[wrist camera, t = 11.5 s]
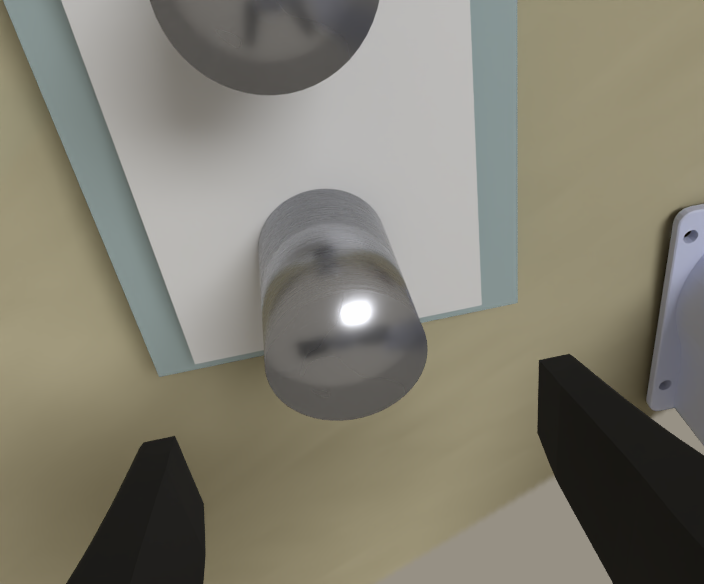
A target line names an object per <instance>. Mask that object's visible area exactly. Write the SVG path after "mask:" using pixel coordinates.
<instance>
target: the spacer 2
mask: <svg viewBox="0 0 704 584" xmlns="http://www.w3.org/2000/svg"><path fill="white" fill-rule="evenodd" d="M258 258H259V275H260V292H261V309H262V326H263V343H264V360H265V372H266V376H267V380H268V382H269V384H270V387H271V388H272V390H273V391H274V393H275V394H276V396H277V397H278V398H279V399H280V400H281V401H282V402H283V403H285V404H286V405H287V406H288V407H290V408H292V409H293V410H295V411H297V412H299V413H301V414H304V415H306V416H310V417H313V418H317V419H322V420H351V419H357V418H362V417H365V416H369V415H372V414H374V413H377V412H379V411H382V410H384V409H386V408H387V407H389V406H391V405H392V404H394V403H396V402H397V401H398V400H400V399H401V398H402V397H403V396H405V395H406V394H407V393H408V392H409V391H410V389H411V388H412V387H413V386H414V385H415V383H416V382H417V381H418V379H419V377H420V375H421V374H422V371H423V369H424V366H425V363H426V359H427V340H426V336H425V332H424V330H423V327H422V325H421V322H420V319H419V317H418V314H417V312H416V309H415V306H414V304H413V301H412V299H411V296H410V294H409V291H408V288H407V286H406V283H405V281H404V278H403V275H402V273H401V270H400V268H399V265H398V263H397V260H396V257H395V255H394V252H393V250H392V247H391V245H390V242H389V239H388V237H387V234H386V232H385V229H384V226H383V224H382V222H381V219H380V218H379V216H378V214H377V213H376V212H375V210H374V209H373V208H372V207H371V206H370V205H369V204H368V203H367V202H365V201H364V200H362V199H361V198H359V197H358V196H355V195H353V194H351V193H348V192H345V191H341V190H336V189H315V190H310V191H306V192H303V193H299V194H297V195H295V196H293V197H291V198H289V199H287V200H286V201H284V202H283V203H282V204H280V205H279V206H278V207H277V208H276V209H275V210H274V211H273V212H272V213H271V214H270V215H269V217H268V218H267V220H266V221H265V223H264V225H263V227H262V230H261V232H260V236H259V241H258Z"/></svg>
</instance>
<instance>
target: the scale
mask: <svg viewBox="0 0 704 584" xmlns="http://www.w3.org/2000/svg"><path fill="white" fill-rule="evenodd" d="M3 1H4V4H5V6H6V9H7V11H8V13H9V16H10V18H11V21H12V23H13V26H14V28H15V30H16V33H17V35H18V38H19V40H20V42H21V45H22V47H23V50H24V52H25V54H26V57H27V59H28V62H29V64H30V67H31V69H32V71H33V74H34V76H35V79H36V81H37V83H38V86H39V88H40V91H41V93H42V95H43V98H44V100H45V103H46V105H47V108H48V110H49V112H50V115H51V117H52V120H53V122H54V124H55V127H56V129H57V132H58V134H59V136H60V139H61V141H62V144H63V146H64V148H65V151H66V153H67V156H68V158H69V161H70V163H71V165H72V168H73V170H74V173H75V175H76V177H77V180H78V182H79V185H80V187H81V189H82V192H83V194H84V197H85V199H86V202H87V204H88V206H89V209H90V211H91V214H92V216H93V218H94V221H95V223H96V226H97V228H98V230H99V233H100V235H101V238H102V240H103V243H104V245H105V247H106V250H107V252H108V255H109V257H110V259H111V262H112V264H113V267H114V269H115V271H116V274H117V276H118V279H119V281H120V284H121V286H122V288H123V291H124V293H125V296H126V298H127V300H128V303H129V305H130V308H131V310H132V312H133V315H134V317H135V320H136V322H137V325H138V327H139V329H140V332H141V334H142V337H143V339H144V341H145V344H146V346H147V349H148V351H149V353H150V356H151V358H152V361H153V363H154V366H155V368H156V370H157V373H158V375H159V377H161V376H166V375H171V374H176V373H181V372H186V371H190V370H195V369H200V368H205V367H210V366H215V365H219V364H224V363H229V362H234V361H239V360H244V359H249V358H253V357H258V356H263V355H264V343H263V326H262V309H261V292H260V275H259V258H258V241H259V236H260V232H261V230H262V227H263V225H264V223H265V221H266V220H267V218H268V217H269V215H270V214H271V213H272V212H273V211H274V210H275V209H276V208H277V207H278V206H279V205H280V204H282V203H283V202H284V201H286V200H287V199H289V198H291V197H293V196H295V195H297V194H299V193H303V192H306V191H310V190H315V189H336V190H341V191H345V192H348V193H351V194H353V195H355V196H358V197H359V198H361V199H362V200H364V201H365V202H367V203H368V204H369V205H370V206H371V207H372V208H373V209H374V210H375V212H376V213H377V214H378V216H379V218H380V219H381V222H382V224H383V226H384V229H385V232H386V234H387V237H388V239H389V242H390V245H391V247H392V250H393V252H394V255H395V257H396V260H397V263H398V265H399V268H400V270H401V273H402V275H403V278H404V281H405V283H406V286H407V288H408V291H409V294H410V296H411V299H412V301H413V304H414V306H415V309H416V312H417V314H418V317H419V319H420V322H421V323H423V322H428V321H432V320H437V319H442V318H447V317H452V316H457V315H461V314H466V313H471V312H476V311H481V310H486V309H490V308H495V307H500V306H505V305H510V304H515V303H518V290H517V0H379V4H378V8H377V11H376V14H375V18H374V21H373V23H372V25H371V27H370V30H369V32H368V34H367V36H366V38H365V39H364V41H363V42H362V44H361V46H360V47H359V49H358V50H357V51H356V52H355V54H354V55H353V56H352V57H351V59H350V60H349V61H348V62H347V63H346V64H345V65H344V66H343V67H342V68H340V69H339V70H338V71H337V72H335V73H334V74H333V75H331V76H330V77H329V78H327V79H325V80H324V81H322V82H320V83H318V84H316V85H314V86H312V87H309V88H307V89H304V90H301V91H297V92H293V93H289V94H282V95H256V94H249V93H244V92H241V91H237V90H233V89H231V88H228V87H226V86H223V85H221V84H219V83H217V82H215V81H213V80H211V79H210V78H208V77H206V76H205V75H203V74H202V73H201V72H199V71H198V70H196V69H195V68H194V67H193V66H192V65H190V64H189V63H188V62H187V61H186V60H185V59H184V58H183V57H182V56H181V55H180V54H179V52H178V51H177V50H176V49H175V48H174V47H173V45H172V44H171V43H170V41H169V40H168V38H167V37H166V35H165V33H164V32H163V30H162V28H161V26H160V24H159V22H158V20H157V18H156V17H155V14H154V11H153V9H152V6H151V3H150V0H3Z"/></svg>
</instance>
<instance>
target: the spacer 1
mask: <svg viewBox="0 0 704 584" xmlns="http://www.w3.org/2000/svg"><path fill="white" fill-rule="evenodd" d="M150 3H151V6H152V9H153V11H154V14H155V17H156V18H157V20H158V22H159V24H160V26H161V28H162V30H163V32H164V33H165V35H166V37H167V38H168V40H169V41H170V43H171V44H172V45H173V47H174V48H175V49H176V50H177V51H178V52H179V54H180V55H181V56H182V57H183V58H184V59H185V60H186V61H187V62H188V63H189V64H190V65H192V66H193V67H194V68H195V69H196V70H198V71H199V72H201V73H202V74H203V75H205V76H206V77H208V78H210V79H211V80H213V81H215V82H217V83H219V84H221V85H223V86H226V87H228V88H231V89H233V90H237V91H241V92H244V93H249V94H256V95H282V94H289V93H293V92H297V91H301V90H304V89H307V88H309V87H312V86H314V85H316V84H318V83H320V82H322V81H324V80H325V79H327V78H329V77H330V76H331V75H333V74H334V73H335V72H337V71H338V70H339V69H340V68H342V67H343V66H344V65H345V64H346V63H347V62H348V61H349V60H350V59H351V57H352V56H353V55H354V54H355V52H356V51H357V50H358V49H359V47H360V46H361V44H362V42H363V41H364V39H365V38H366V36H367V34H368V32H369V30H370V27H371V25H372V23H373V21H374V18H375V14H376V11H377V8H378V4H379V0H150Z"/></svg>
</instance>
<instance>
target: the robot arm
mask: <svg viewBox="0 0 704 584" xmlns="http://www.w3.org/2000/svg"><path fill="white" fill-rule="evenodd" d="M689 231H691V233H690V234H689V235H688V236H686V237H684V235H685V234H686V233H687V232H689ZM663 381H664V382H663ZM646 401H647V404H648V405H649V407H650V408H651V409H652V410H654V411H662V410H667V409H671V408H675V409H676V410H677V412H678V413H679V414H680V416H681V417H682V418H683V420H684V421H685V422H686V423H687V425H688V426H689V427H690V428H691V430H692V431H693V432H694V434H695V435H696V436H697V438H698V439H699V440H700V441H701V443H702V444H703V445H704V204H700V205H695V206H690V207H687V208H684V209H683V210H681V211H680V212H679V213H678V214H677V215H676V217H675V219H674V222H673V227H672V234H671V240H670V247H669V254H668V260H667V267H666V273H665V280H664V287H663V293H662V300H661V306H660V313H659V320H658V326H657V333H656V339H655V346H654V353H653V359H652V366H651V372H650V379H649V385H648V392H647V399H646ZM537 433H538V435H539V438H540V441H541V443H542V446H543V448H544V451H545V453H546V456H547V458H548V461H549V463H550V466H551V468H552V471H553V473H554V475H555V478H556V480H557V482H558V484H559V486H560V487H561V489H562V491H563V493H564V495H565V497H566V498H567V500H568V502H569V504H570V506H571V508H572V510H573V511H574V513H575V515H576V517H577V519H578V520H579V522H580V524H581V526H582V528H583V530H584V531H585V533H586V535H587V537H588V539H589V540H590V542H591V544H592V546H593V548H594V550H595V551H596V553H597V554H598V557H599V559H600V560H601V562H602V564H603V566H604V568H605V569H606V571H607V573H608V575H609V577H610V578H611V580H612V582H613V584H704V455H702V454H701V453H699V452H698V451H696V450H695V449H693V448H692V447H690V446H689V445H687V444H686V443H685V442H683V441H682V440H680V439H679V438H677V437H676V436H674V435H673V434H672V433H670V432H669V431H667V430H666V429H665V428H663V427H662V426H661V425H659V424H658V423H657V422H655V421H654V420H652V419H651V418H650V417H648V416H647V415H646V414H644V413H643V412H642V411H640V410H639V409H638V408H636V407H635V406H634V405H633V404H631V403H630V402H629V401H627V400H626V399H625V398H624V397H622V396H621V395H620V394H619V393H617V392H616V391H615V390H614V389H612V388H611V387H610V386H609V385H607V384H606V383H605V382H604V381H602V380H601V379H600V378H599V377H598V376H596V375H595V374H594V373H593V372H591V371H590V370H589V369H588V368H587V367H585V366H584V365H583V364H582V363H581V362H579V361H578V360H577V359H576V358H574V357H573V356H572V355H570V354H567V355H562V356H557V357H552V358H547V359H543V360H539V387H538V431H537ZM204 568H205V524H204V503H203V501H202V499H201V496H200V494H199V492H198V489H197V487H196V485H195V482H194V480H193V478H192V475H191V473H190V470H189V468H188V466H187V463H186V461H185V459H184V456H183V454H182V452H181V449H180V447H179V445H178V442H177V440H176V438H175V436H173V437H168V438H163V439H159V440H154V441H149V442H144V443H143V444H142V445H141V447H140V448H139V450H138V452H137V454H136V456H135V459H134V461H133V463H132V465H131V467H130V469H129V471H128V473H127V475H126V477H125V479H124V481H123V483H122V485H121V487H120V489H119V491H118V493H117V495H116V497H115V499H114V501H113V503H112V505H111V507H110V509H109V510H108V512H107V514H106V516H105V518H104V520H103V521H102V523H101V525H100V527H99V529H98V531H97V532H96V534H95V536H94V538H93V540H92V542H91V543H90V545H89V547H88V549H87V550H86V552H85V554H84V555H83V557H82V559H81V560H80V562H79V564H78V565H77V567H76V569H75V570H74V572H73V573H72V575H71V577H70V578H69V580H68V582H67V583H66V584H203V580H204Z"/></svg>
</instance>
